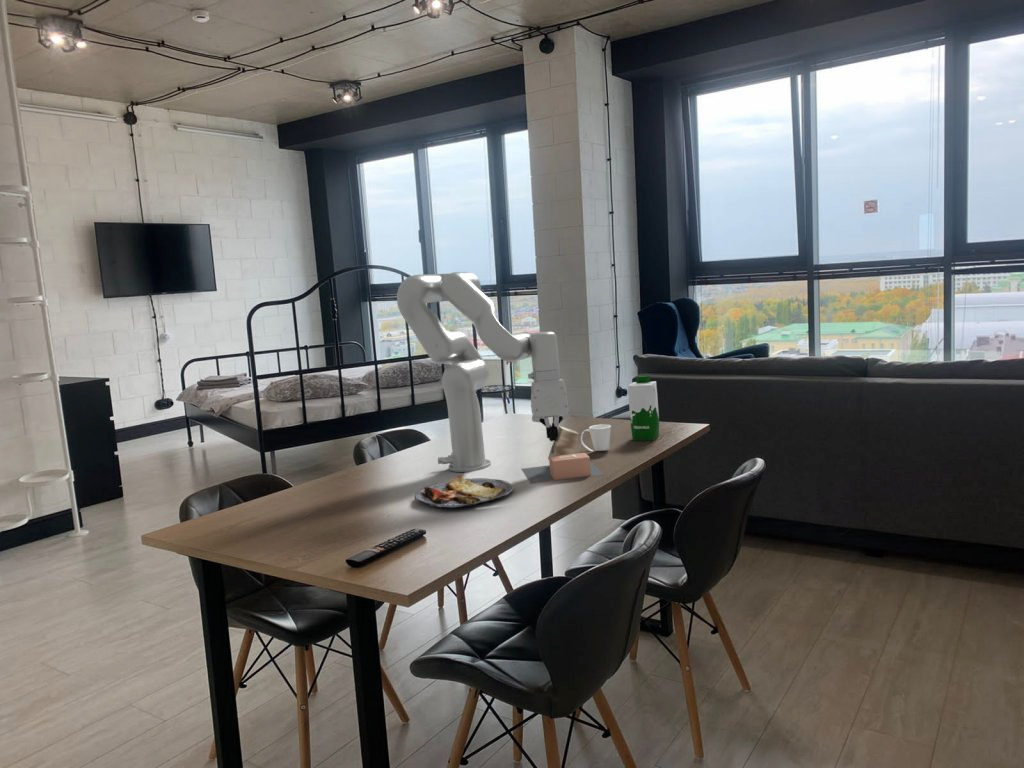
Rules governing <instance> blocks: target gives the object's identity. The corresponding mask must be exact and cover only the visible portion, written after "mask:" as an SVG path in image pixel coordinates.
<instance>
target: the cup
mask: <svg viewBox="0 0 1024 768" xmlns="http://www.w3.org/2000/svg"><path fill="white" fill-rule="evenodd" d="M611 429H612V425H611V424H595V425H591V426H589V427H588V429H585V430H583V431H582V432H581V434H580V443H581V445H582V446H583V448H585V449H586V450H587V451H589V452H594V451H597V452H601V451H607V450H609V449H610V443H611ZM585 432H589V434H590V438H591V439H590V440H591V442H592V446H593V449H594V450H593V449H591V448H589V447H588V446H587V445H586V444H585V443H584V441H583V438H584V436H583V435H584V434H585Z"/></svg>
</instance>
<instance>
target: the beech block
mask: <svg viewBox="0 0 1024 768" xmlns="http://www.w3.org/2000/svg"><path fill="white" fill-rule="evenodd" d="M557 429H558V437H556V439H557V441H554V440H553V441H552V442H553V443H552V446H551V448H550V451H549V454H548V457H547V460H549V457H552V456H560V455H569V454H574V453H575V449H576V446H577V443H578V441H579V437H580V433H579V432H577V431H576V430H573V429H571V428H567V427H564V426H560V425H558V426H557Z"/></svg>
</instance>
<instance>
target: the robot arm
mask: <svg viewBox="0 0 1024 768" xmlns="http://www.w3.org/2000/svg"><path fill="white" fill-rule="evenodd" d="M481 289H482V284H481V281H480V280H479V278H478V276H477V275H476V274H474V273H472V272H469V271H454V272H453V271H452V272H450V273H435V274H434V273H429V274H415V275H414V274H413V275H411V276H410V275H409V276H408V277H406V278H405V279H403V281H401V282H400V285H399V286H398V289H397V293H396V303H397V307H398V309H399V313H400V314H401V317H402V318H403V319H404V321H405V322H406V323H407V325H408V326H409V327H410V329H411V331H412V332H413V334H414V335H415V337H416V338H417V340H418V342H419V344H420V345H421V346H422V348H423V350H424V351H425V353H426V354H427V355H428V357H429V358H430V359H431V361H432V362H434V363H435V364H439V365H440V364H441V365H444V364H448V363H451V364H450V365H449V366H447V367H446V369H444V372H443V373H442V378H441V382H442V383H441V384H442V388H443V392H444V396H445V400H446V406H447V415H448V423H449V424H448V425H449V432H450V443H451V452H450V454H449V455H447V456H440V457H437V464H438V465H440V464H442V465H447V464H449V465H448V470H449V471H450V472H455V473H465V472H467V473H468V472H474V471H480V470H484V469H486V468H488V467H490V466H492V465H491V463H492V461H491V460H490V459H487V458H486V454H485V444H484V433H483V422H482V414H481V407H480V406H481V405H480V401H479V398H478V395H477V393H476V391H477V390H478V391H479V390H480V389H482V388H484V387H485V386H486V385H487V384H488V382H489V379H490V370H489V368H488V367H489V366H488V365H487V363H486V362H485V360H484V359H483V357H482V356H481V354H480V352H479V351H478V349H477V348H476V347H475V345H474V344H473V342H472V341H471V339H470V338H469V336H467V335H466V334H465V333H464V332H463V331H460V330H459V329H458V330H457V329H447V328H446V327H445V326H444V325H443V322H441V320H440V318H439V317H438V315H437V314H436V313H435V312H434V311H433V310H432V309H430V308H429V306H428V305H427V304H429V303H443V302H449V303H450V304H451V305H453V307H455V309H457V310H458V311H459V312H460V313H461V314H462V315H463V316H464V317H465V318H466V319H467V320H468V321H469V322H470V323H471V324H472V325H473V326H474V329H475V331H476V333H477V335H478V336H479V338H480V340H481V341H482V343H483V344H484V345H485V346H486V347H487V348H488V349H489V350H490V351H491V352H492V353H493V354H494V355H496V356H497V358H499V359H501V360H502V361H505V362H508V363H514V362H517V361H522V360H524V359H529V358H531V365H532V366H531V367H532V371H531V373H528V374H527V377H528V379H529V380H530V379H531V380H533V381H532V382H531V384H530V385H531V387H530V402H531V403H530V404H531V405H530V408H531V414H532V415H531V421H532V422H533V423H541V424H542V425H543V426H544V427H545V429H546V438H547V439H548V440H549V441H550V442H554V441H557V439H556V437H558V427H559V426H560V425H559V424H560V423H561V422H562V421H563V420H566V419H569V418H570V416H571V415H570V413H569V412H570V406H569V398H568V393H567V387H566V384H565V380H564V379H563V378H561V370H560V362H559V361H560V360H559V359H560V358H559V349H558V347H559V346H558V339H557V334H556V333H555V332H553V331H539V332H534V333H533V332H517V333H510V332H509V331H508V330H507V329H506V328H505V327H504V326H503V325H502V324H501V323H500V322H499V320H498V319H497V318H496V314H495V307H496V305H495V303H494V302H493V300H491V299H490V298H489V297H488V296H487V295H486V294H485V293H483V291H482V290H481ZM549 418H552V423H550V419H549Z"/></svg>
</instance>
